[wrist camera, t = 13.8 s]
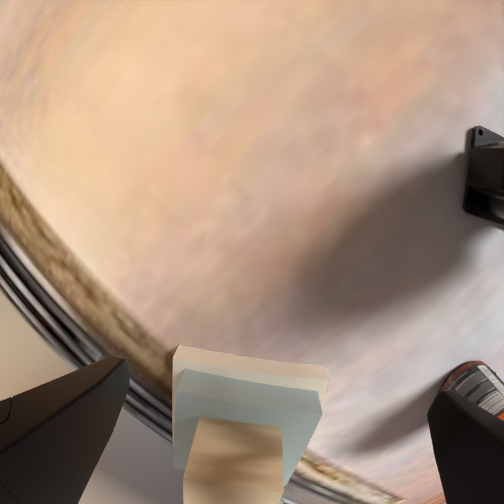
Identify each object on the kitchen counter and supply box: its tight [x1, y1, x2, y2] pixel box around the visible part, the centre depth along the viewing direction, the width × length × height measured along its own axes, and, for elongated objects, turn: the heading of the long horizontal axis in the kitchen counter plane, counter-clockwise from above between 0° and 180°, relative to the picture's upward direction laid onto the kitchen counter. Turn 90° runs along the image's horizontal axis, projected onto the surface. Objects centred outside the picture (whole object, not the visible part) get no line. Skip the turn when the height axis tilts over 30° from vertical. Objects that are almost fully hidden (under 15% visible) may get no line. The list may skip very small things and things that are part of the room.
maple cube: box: [183, 416, 284, 504], centre depth 17 cm, size 6×6×6 cm
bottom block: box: [172, 345, 330, 446], centre depth 23 cm, size 11×11×2 cm
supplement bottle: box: [441, 361, 504, 421], centre depth 17 cm, size 6×6×11 cm
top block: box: [173, 368, 322, 486], centre depth 20 cm, size 10×10×2 cm
